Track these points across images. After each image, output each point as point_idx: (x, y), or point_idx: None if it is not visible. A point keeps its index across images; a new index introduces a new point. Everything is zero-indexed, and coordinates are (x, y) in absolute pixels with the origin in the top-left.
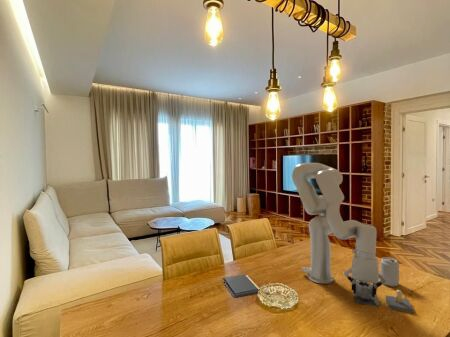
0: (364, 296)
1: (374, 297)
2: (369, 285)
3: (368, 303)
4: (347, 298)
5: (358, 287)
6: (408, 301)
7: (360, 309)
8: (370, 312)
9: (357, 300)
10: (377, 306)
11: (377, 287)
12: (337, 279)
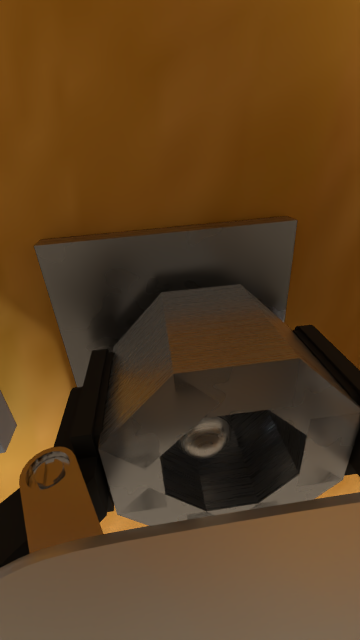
0: (204, 297)
1: (93, 350)
2: (155, 476)
3: (153, 234)
4: (340, 267)
5: (317, 366)
6: None
7: (245, 63)
8: (125, 34)
9: (267, 239)
10: (59, 239)
11: (24, 475)
12: (342, 489)
